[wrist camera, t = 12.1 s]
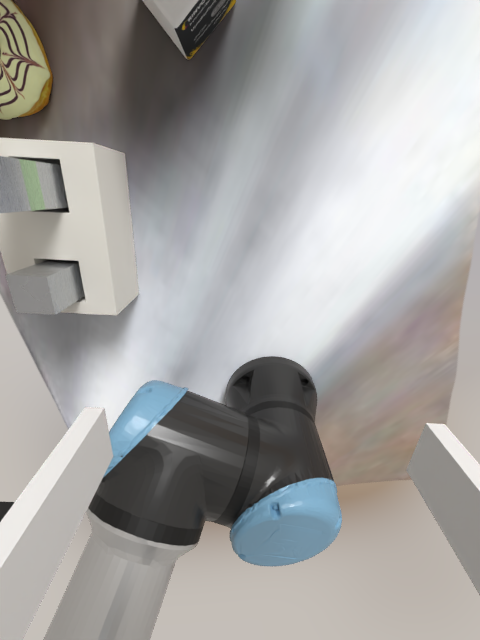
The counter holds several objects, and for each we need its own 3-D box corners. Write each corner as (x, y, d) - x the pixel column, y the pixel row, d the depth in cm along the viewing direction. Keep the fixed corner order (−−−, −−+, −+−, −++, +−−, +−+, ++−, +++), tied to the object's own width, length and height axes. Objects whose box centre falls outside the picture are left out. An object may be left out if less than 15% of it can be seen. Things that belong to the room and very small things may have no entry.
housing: (125, 153, 34) (91, 142, 27) (139, 293, 42) (115, 316, 34) (25, 147, 34) (-38, 134, 27) (57, 289, 42) (15, 311, 34)
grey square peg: (110, 279, 41) (55, 314, 29) (82, 277, 41) (16, 312, 29) (106, 251, 39) (46, 276, 27) (77, 249, 39) (5, 274, 27)
